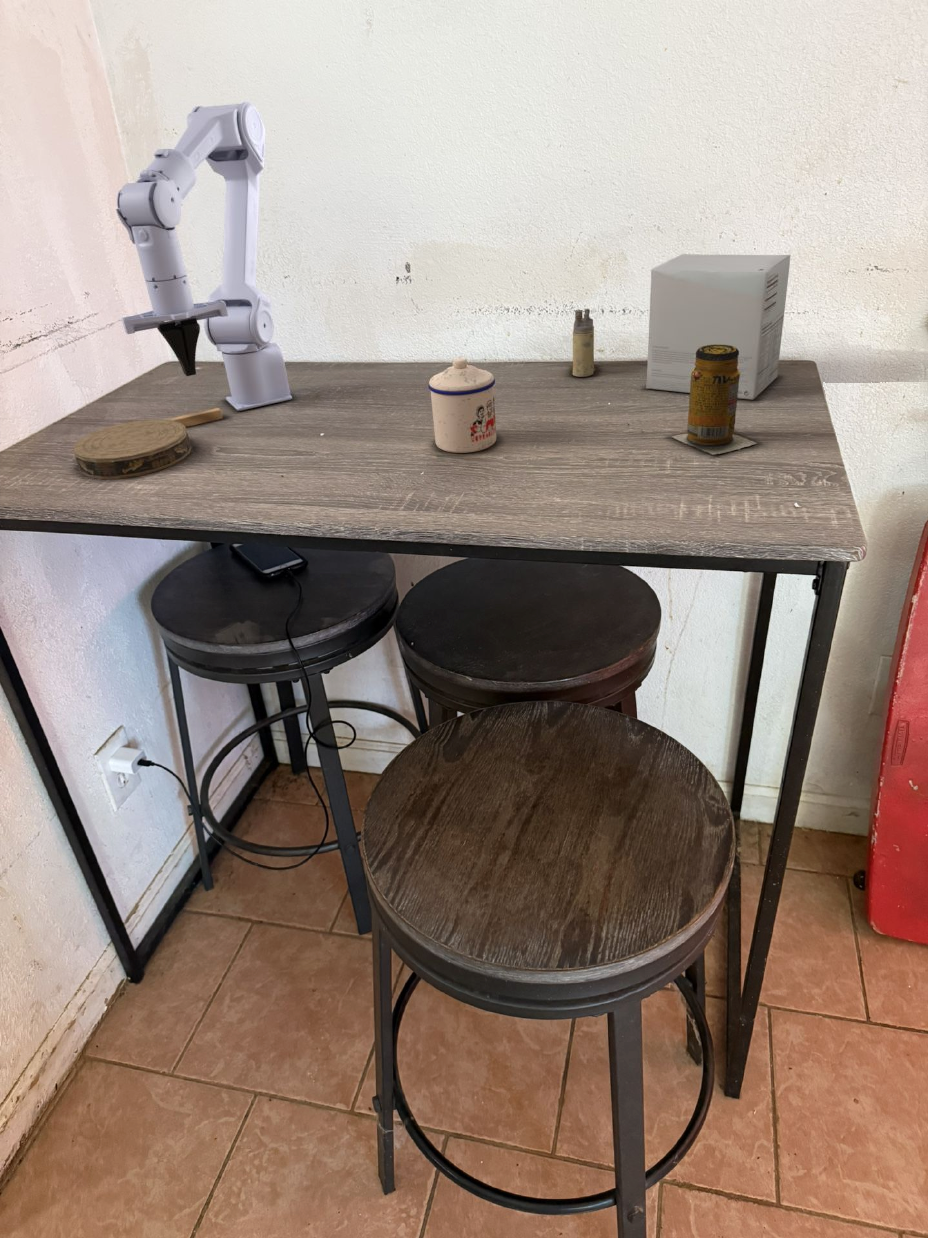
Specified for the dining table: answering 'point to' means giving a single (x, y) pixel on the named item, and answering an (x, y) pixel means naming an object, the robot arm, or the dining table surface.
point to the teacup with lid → (463, 408)
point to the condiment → (714, 401)
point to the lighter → (583, 344)
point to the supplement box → (717, 317)
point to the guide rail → (198, 417)
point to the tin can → (132, 449)
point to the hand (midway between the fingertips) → (190, 373)
